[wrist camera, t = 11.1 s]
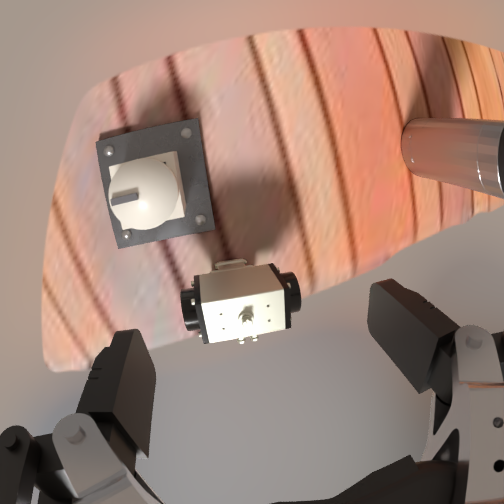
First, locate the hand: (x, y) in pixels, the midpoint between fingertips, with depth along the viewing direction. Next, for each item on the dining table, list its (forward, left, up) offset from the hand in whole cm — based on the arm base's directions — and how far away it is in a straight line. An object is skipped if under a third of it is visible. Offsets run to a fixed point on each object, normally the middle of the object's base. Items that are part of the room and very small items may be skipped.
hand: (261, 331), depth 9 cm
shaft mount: (+6, -3, -26) cm, 27 cm away
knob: (+6, -3, -25) cm, 26 cm away
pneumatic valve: (-1, +10, -26) cm, 28 cm away
